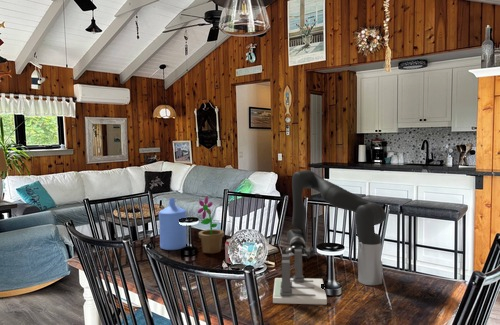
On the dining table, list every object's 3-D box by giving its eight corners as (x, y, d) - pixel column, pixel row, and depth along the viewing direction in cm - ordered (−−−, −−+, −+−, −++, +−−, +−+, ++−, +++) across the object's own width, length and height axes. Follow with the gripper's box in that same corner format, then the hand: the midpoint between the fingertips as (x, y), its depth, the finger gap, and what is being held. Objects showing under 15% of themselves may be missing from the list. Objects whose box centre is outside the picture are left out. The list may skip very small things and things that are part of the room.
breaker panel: (322, 283, 159) (322, 278, 159) (326, 304, 139) (326, 298, 139) (275, 282, 161) (275, 277, 161) (272, 303, 142) (272, 297, 141)
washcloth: (264, 257, 196) (264, 251, 196) (241, 250, 210) (241, 245, 209) (279, 252, 205) (279, 246, 204) (256, 245, 218) (256, 240, 217)
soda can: (237, 266, 182) (237, 242, 182) (223, 265, 184) (223, 241, 183) (241, 261, 189) (240, 238, 189) (227, 261, 191) (227, 237, 190)
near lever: (292, 291, 146) (291, 259, 145) (292, 295, 142) (291, 263, 141) (280, 291, 146) (280, 259, 145) (280, 295, 142) (279, 263, 141)
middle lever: (291, 284, 153) (291, 254, 152) (291, 288, 149) (291, 257, 148) (281, 284, 153) (280, 253, 152) (280, 287, 149) (280, 257, 148)
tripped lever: (303, 277, 159) (303, 248, 158) (304, 281, 155) (303, 251, 154) (293, 277, 159) (292, 248, 159) (293, 281, 155) (292, 251, 155)
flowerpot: (210, 245, 219) (209, 194, 217) (229, 249, 211) (228, 196, 209) (193, 251, 208) (191, 198, 205) (213, 256, 199) (211, 200, 197)
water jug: (184, 250, 211) (182, 200, 209) (156, 250, 211) (154, 201, 209) (189, 242, 226) (187, 196, 224) (163, 242, 227) (161, 196, 225)
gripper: (282, 237, 183) (281, 247, 167) (312, 238, 181) (314, 248, 165) (282, 253, 183) (282, 264, 167) (312, 253, 182) (314, 264, 166)
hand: (298, 256), depth 166 cm, fingers open, 8 cm apart
